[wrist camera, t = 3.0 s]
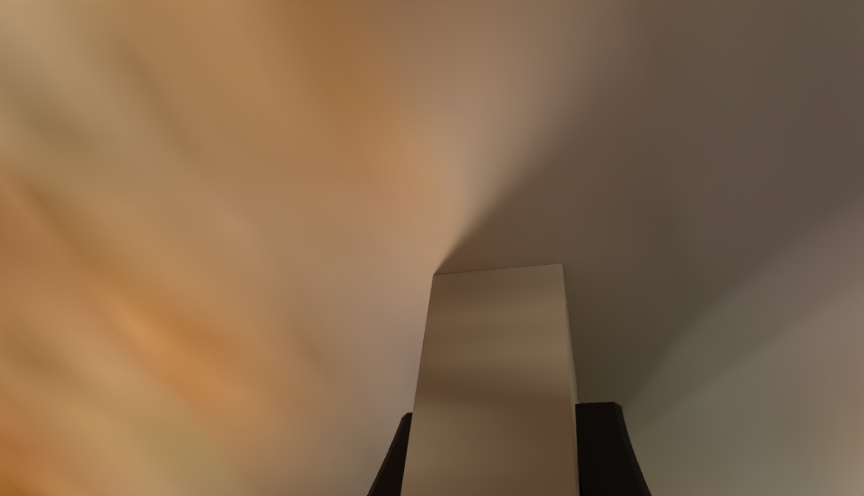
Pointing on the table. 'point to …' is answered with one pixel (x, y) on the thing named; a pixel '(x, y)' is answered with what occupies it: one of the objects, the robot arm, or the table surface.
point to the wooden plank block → (495, 388)
